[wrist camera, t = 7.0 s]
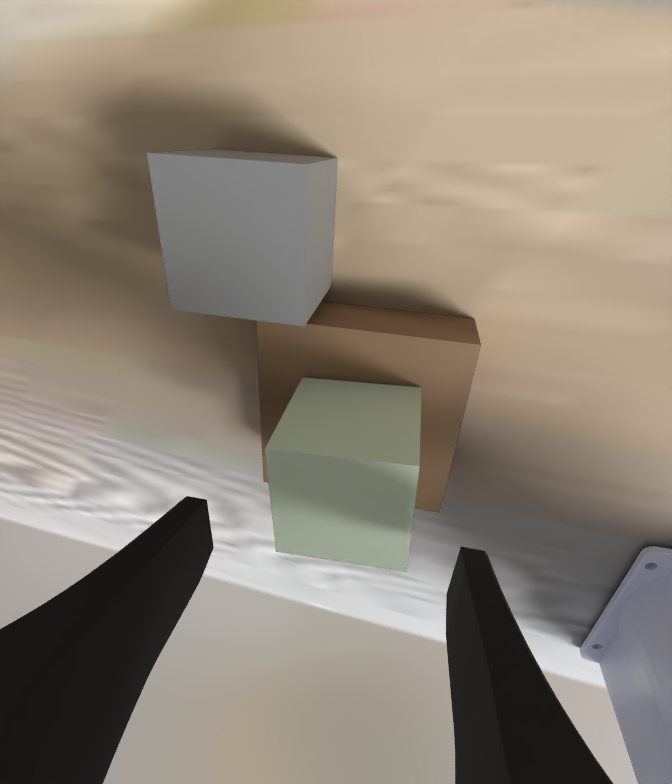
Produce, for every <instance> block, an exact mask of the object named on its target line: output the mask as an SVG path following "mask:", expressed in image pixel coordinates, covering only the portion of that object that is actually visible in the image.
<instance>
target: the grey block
mask: <svg viewBox="0 0 672 784" xmlns="http://www.w3.org/2000/svg"><path fill="white" fill-rule="evenodd" d="M147 158H148V165H149V171H150V178H151V184H152V191H153V197H154V204H155V211H156V217H157V224H158V230H159V237H160V243H161V250H162V256H163V263H164V270H165V276H166V283H167V289H168V296H169V302H170V309H171V310H176V311H184V312H192V313H200V314H208V315H216V316H224V317H232V318H240V319H249V320H257V321H265V322H273V323H281V324H289V325H297V326H305V325H306V323H307V322H308V320H309V319H310V317H311V316H312V314H313V313H314V311H315V310H316V308H317V307H318V305H319V304H320V302H321V301H322V299H323V298H324V296H325V295H326V293H327V292H328V290H329V288H330V287H331V285H332V265H333V245H334V224H335V204H336V183H337V163H338V158H334V157H320V156H306V155H292V154H277V153H263V152H249V151H235V150H220V149H208V150H189V151H170V152H151V153H147Z"/></svg>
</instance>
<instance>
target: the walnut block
mask: <svg viewBox="0 0 672 784" xmlns="http://www.w3.org/2000/svg"><path fill="white" fill-rule="evenodd" d="M256 323H257V345H258V367H259V390H260V412H261V434H262V456H263V479H264V482H267V483H269V482H268V473H267V463H266V454H265V448H266V446H267V444H268V442H269V440H270V438H271V436H272V434H273V432H274V431H275V429H276V427H277V425H278V423H279V421H280V419H281V417H282V415H283V413H284V412H285V410H286V408H287V406H288V404H289V402H290V400H291V398H292V396H293V394H294V393H295V391H296V389H297V387H298V385H299V383H300V381H301V379H302V377H304V378H316V379H328V380H339V381H351V382H363V383H374V384H386V385H398V386H409V387H421V428H420V467H419V475H418V483H417V492H416V500H415V508H417V509H422V510H428V511H434V512H440V509H441V505H442V501H443V497H444V493H445V489H446V485H447V480H448V476H449V472H450V468H451V464H452V460H453V456H454V452H455V448H456V444H457V440H458V436H459V432H460V428H461V424H462V420H463V416H464V412H465V408H466V403H467V399H468V395H469V391H470V387H471V383H472V379H473V375H474V371H475V367H476V363H477V359H478V355H479V351H480V347H481V343H480V339H479V335H478V331H477V327H476V323H475V319H474V318H465V317H456V316H447V315H438V314H430V313H421V312H412V311H403V310H394V309H386V308H377V307H368V306H359V305H350V304H342V303H333V302H324V301H321V302H320V304H319V305H318V307H317V308H316V310H315V311H314V313H313V314H312V316H311V317H310V319H309V320H308V322H307V323H306V325H305V326H297V325H289V324H281V323H273V322H265V321H257V320H256Z"/></svg>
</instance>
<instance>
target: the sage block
mask: <svg viewBox="0 0 672 784" xmlns="http://www.w3.org/2000/svg"><path fill="white" fill-rule="evenodd" d="M420 428H421V387H409V386H398V385H386V384H374V383H363V382H351V381H339V380H328V379H316V378H304V377H302V379H301V381H300V383H299V385H298V387H297V389H296V391H295V393H294V394H293V396H292V398H291V400H290V402H289V404H288V406H287V408H286V410H285V412H284V413H283V415H282V417H281V419H280V421H279V423H278V425H277V427H276V429H275V431H274V432H273V434H272V436H271V438H270V440H269V442H268V444H267V446H266V448H265V454H266V463H267V473H268V482H269V491H270V500H271V510H272V519H273V528H274V537H275V547H276V552H281V553H287V554H294V555H300V556H307V557H313V558H320V559H327V560H333V561H340V562H346V563H353V564H359V565H366V566H372V567H379V568H385V569H392V570H398V571H405V572H407V565H408V557H409V549H410V540H411V532H412V524H413V516H414V508H415V500H416V492H417V483H418V475H419V467H420Z"/></svg>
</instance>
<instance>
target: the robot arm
mask: <svg viewBox="0 0 672 784" xmlns="http://www.w3.org/2000/svg"><path fill="white" fill-rule="evenodd" d="M212 550H213V541H212V534H211V527H210V520H209V513H208V506H207V500H205V499H199V498H194V497H189V496H187V497H185V498H184V499H183V500H181V501H180V502H179V503H178V504H177V505H175V506H174V507H173V508H172V509H171V510H169V511H168V512H167V513H166V514H165V515H163V516H162V517H161V518H160V519H159V520H157V521H156V522H155V523H154V524H153V525H151V526H150V527H149V528H148V529H147V530H145V531H144V532H143V533H142V534H140V535H139V536H138V537H137V538H135V539H134V540H133V541H132V542H130V543H129V544H128V545H127V546H125V547H124V548H123V549H121V550H120V551H119V552H118V553H116V554H115V555H114V556H113V557H111V558H110V559H108V560H107V561H106V562H104V563H103V564H102V565H100V566H99V567H97V568H96V569H95V570H93V571H92V572H91V573H89V574H88V575H87V576H85V577H84V578H82V579H81V580H79V581H78V582H76V583H75V584H74V585H72V586H71V587H69V588H68V589H66V590H65V591H63V592H62V593H60V594H58V595H57V596H55V597H54V598H52V599H51V600H49V601H47V602H46V603H44V604H43V605H41V606H39V607H38V608H36V609H34V610H33V611H31V612H29V613H28V614H26V615H24V616H23V617H21V618H19V619H17V620H16V621H14V622H12V623H10V624H9V625H7V626H5V627H3V628H2V629H0V784H103V782H104V779H105V777H106V774H107V772H108V769H109V766H110V764H111V761H112V759H113V757H114V754H115V752H116V749H117V747H118V744H119V742H120V740H121V738H122V735H123V733H124V731H125V728H126V726H127V723H128V721H129V718H130V716H131V714H132V712H133V709H134V707H135V705H136V703H137V701H138V698H139V696H140V694H141V691H142V689H143V687H144V685H145V683H146V680H147V678H148V676H149V674H150V672H151V670H152V668H153V666H154V664H155V662H156V660H157V658H158V656H159V654H160V653H161V651H162V649H163V647H164V645H165V644H166V642H167V640H168V638H169V637H170V635H171V633H172V631H173V629H174V628H175V626H176V624H177V622H178V620H179V619H180V617H181V615H182V613H183V611H184V609H185V608H186V606H187V604H188V602H189V600H190V598H191V597H192V595H193V593H194V591H195V589H196V587H197V586H198V584H199V582H200V579H201V577H202V575H203V572H204V570H205V568H206V565H207V563H208V560H209V558H210V555H211V553H212ZM446 640H447V653H448V664H449V676H450V688H451V699H452V711H453V722H454V737H455V776H456V777H455V783H456V784H613V783H612V781H611V780H610V779H609V777H608V776H607V774H606V773H605V771H604V770H603V769H602V767H601V766H600V764H599V763H598V762H597V760H596V759H595V757H594V756H593V754H592V753H591V751H590V749H589V748H588V747H587V745H586V743H585V742H584V740H583V739H582V737H581V736H580V734H579V733H578V731H577V730H576V728H575V726H574V725H573V723H572V722H571V720H570V718H569V717H568V715H567V714H566V712H565V710H564V709H563V707H562V705H561V704H560V702H559V700H558V699H557V697H556V696H555V694H554V692H553V690H552V688H551V687H550V685H549V683H548V682H547V680H546V678H545V676H544V675H543V673H542V671H541V669H540V667H539V665H538V663H537V662H536V660H535V658H534V656H533V654H532V652H531V650H530V648H529V647H528V645H527V643H526V641H525V639H524V637H523V635H522V633H521V631H520V629H519V626H518V624H517V622H516V620H515V618H514V616H513V614H512V612H511V610H510V608H509V606H508V603H507V601H506V599H505V597H504V594H503V592H502V590H501V588H500V585H499V583H498V580H497V578H496V575H495V573H494V570H493V568H492V565H491V563H490V560H489V557H488V555H487V554H486V552H485V551H482V550H476V549H471V548H465V547H461V548H460V551H459V555H458V558H457V561H456V565H455V568H454V571H453V575H452V578H451V582H450V585H449V588H448V592H447V604H446ZM580 653H581V656H582V658H584V659H585V660H588V661H593V662H597V663H599V664H600V667H601V670H602V673H603V676H604V680H605V683H606V686H607V689H608V692H609V695H610V698H611V701H612V704H613V707H614V711H615V714H616V717H617V720H618V723H619V726H620V729H621V732H622V735H623V738H624V741H625V745H626V748H627V751H628V754H629V757H630V760H631V763H632V766H633V769H634V772H635V775H636V779H637V781H638V783H639V784H672V549H668V548H662V547H656V546H650V547H646V548H644V549H643V550H642V551H641V552H640V554H639V555H638V557H637V559H636V560H635V562H634V563H633V565H632V567H631V568H630V570H629V571H628V573H627V575H626V576H625V578H624V579H623V581H622V583H621V584H620V586H619V587H618V589H617V591H616V592H615V594H614V595H613V597H612V599H611V600H610V602H609V603H608V605H607V606H606V608H605V610H604V611H603V613H602V614H601V616H600V618H599V619H598V621H597V622H596V624H595V626H594V627H593V629H592V630H591V632H590V634H589V635H588V637H587V638H586V640H585V642H584V643H583V645H582V646H581V648H580Z"/></svg>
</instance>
